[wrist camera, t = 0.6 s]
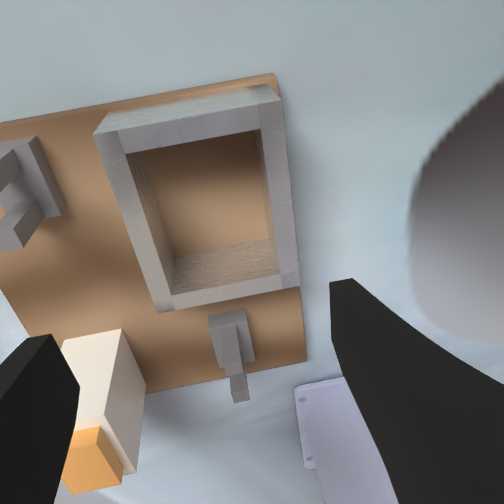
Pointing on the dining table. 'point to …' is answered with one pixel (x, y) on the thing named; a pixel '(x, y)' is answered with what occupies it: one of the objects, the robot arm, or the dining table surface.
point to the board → (124, 257)
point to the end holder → (148, 213)
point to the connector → (103, 411)
